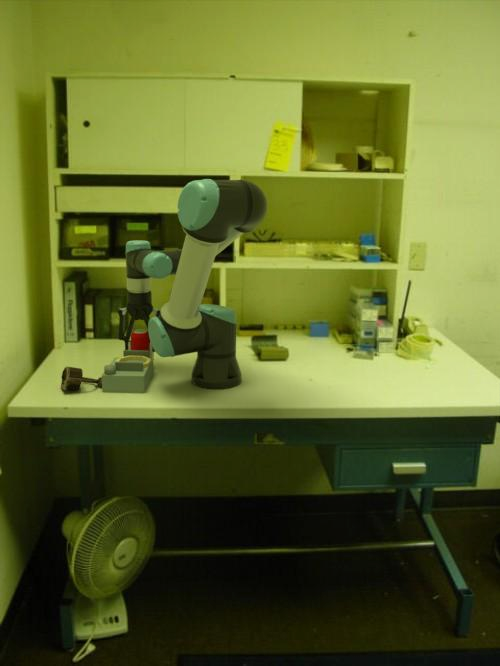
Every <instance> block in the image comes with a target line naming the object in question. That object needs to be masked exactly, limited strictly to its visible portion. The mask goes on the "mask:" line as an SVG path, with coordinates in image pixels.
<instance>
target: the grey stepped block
mask: <svg viewBox="0 0 500 666" xmlns="http://www.w3.org/2000/svg"><path fill="white" fill-rule="evenodd" d="M122 352H123V356H121V357H116V356H114V357H113V359H112V360H111V362H110V363H109V364H107V365H104V367H103V373H102V374H101V377H102V387H101V391H102V393H135V394H136V393H137V394H139V393H141V394H143V393H145V392H146V390H147V387H148V386H149V384H150V382H151V380H152V378H153V375H154V372H155V371H154V370H155V369H154V368H155V367H154V365H155V364H154V360H153V358H150V351H146V350H125V349H123V351H122Z"/></svg>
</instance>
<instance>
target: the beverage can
mask: <svg viewBox="0 0 500 666" xmlns="http://www.w3.org/2000/svg"><path fill="white" fill-rule="evenodd" d="M130 340H131V350H146V351H150V338H149V333H148V329H147V328H146V329H145V328H137V329H134V330H132V333H131V336H130Z"/></svg>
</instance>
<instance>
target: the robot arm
mask: <svg viewBox="0 0 500 666" xmlns="http://www.w3.org/2000/svg"><path fill="white" fill-rule="evenodd" d="M177 209H178V211H177V218H178V220H179V223H180V224H181V226H182V227H181V228H182V231H183V232H184V233H185V234H186V235H185V237H184V242H183V245H182V248H181V249H168V250H167V249H165V250H152V247H151V243H150V241H147V240H139V239H138V240H137V239H136V240H129V241H127V242H126V244H125V253H124V254H125V270H126V290H127V292H126V297H127V298H126V300H127V301H126V303H127V305H126V307H123V308H122V307H121V308H119V309H118V310H117V314H118V316H119V317H118V318H119V319H118V320H119V322H118V323H119V324H118V340H119V341H123V342H124V350H131V334H132V332H133V331H134V330H133V329H134V326H135V323H136V321H139V320H140V321H143V322H144V324H145V326H146V330H148V333H149V338H150V358H153V361H155V360H154V359H155V358H154V353H156V355H158V356H159V357H161V358H171V357H173V358H174V357H176V356H182V355H188V354H193V353H197V354H196V355H197V356H196V359H195V362H194V364H193V368H192V371H191V383H192V384H193V385H194V386H197V387H201V388H203V389H210V390H211V389H214V390H215V389H216V390H218V389H219V390H220V389H221V390H222V389H229V388H233V387H237V386H238V385H240V384H241V383H242V372H241V368H240V365H239V362H238V359H237V325H238V321H237V313H236V311H235V310H234V309H233V308H232V307H228V306H224V305H220V304H212V303H211V304H209V303H206V304H205V303H203V304H202V300H203V298H204V294H205V291H206V288H207V285H208V281H209V279H210V276H211V275H210V274H211V271H212V269H213V266H214V262H215V259H216V256H217V255H218V254H220V253H221V252H222V251H224V250H225V249H226V248H227V247H228V246H230V245H231V244H232V243H233V242H234V241H236V240H237V239H238V238H240V236H242V235H243V234H250V233H251V232H253V231H254V230H255V229H257V228H258V227H259V226H260V225H261V224H262V223H263V221H264V220H265V218H266V215H267V213H268V200H267V196H266V194H265V193H264V190H263V189H262V188H261V187H260V186H259V185H258V184H256V183H255V182H252V181H250V180H247V179H210V178H203V179H198V180H197V179H195V180H192V181H190V182H188V183H187V184H186V185H185V186H184V187H183V189H182V190H181V192H180V195H179V196H178V201H177ZM168 276H174V280H173V284H172V288H171V292H170V296H169V298H168V302H165V304H163V305H162V307H161V308H159V309H158V308H155V307H154V306H153V299H152V295H153V294H152V291H151V289H152V279H157V280H158V279H159V280H160V279H161V280H162V279H165V278H167V277H168ZM127 313H128V314H129V316H130V320H129V323H128V327H127V330H126V332H125V325H126V323H125V321H126V314H127ZM152 313H153V315H154V316H153V317H150V315H151V314H152Z"/></svg>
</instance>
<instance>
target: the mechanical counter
mask: <svg viewBox="0 0 500 666" xmlns="http://www.w3.org/2000/svg"><path fill="white" fill-rule="evenodd" d="M83 372H84V371H83V369H82V368H79V367H72V366H68V365H67V366H65V367H64V369H63V370H62V373H61V384H60V388H61V389H62V390H65V391H67V390H74V391H79V390H80V388H81V385H82V383H84V384H96V385H97V386H98V387H100V388H102V376H101V377H98V379H97V378H91V377H90V378H89V377H85V376H84V373H83Z"/></svg>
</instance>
